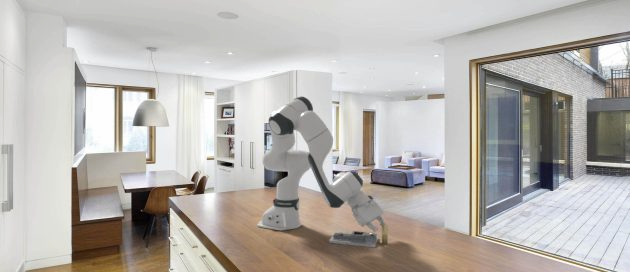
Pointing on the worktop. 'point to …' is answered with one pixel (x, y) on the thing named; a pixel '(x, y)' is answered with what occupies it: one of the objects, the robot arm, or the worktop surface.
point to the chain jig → (355, 238)
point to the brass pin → (385, 234)
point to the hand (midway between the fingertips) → (380, 228)
